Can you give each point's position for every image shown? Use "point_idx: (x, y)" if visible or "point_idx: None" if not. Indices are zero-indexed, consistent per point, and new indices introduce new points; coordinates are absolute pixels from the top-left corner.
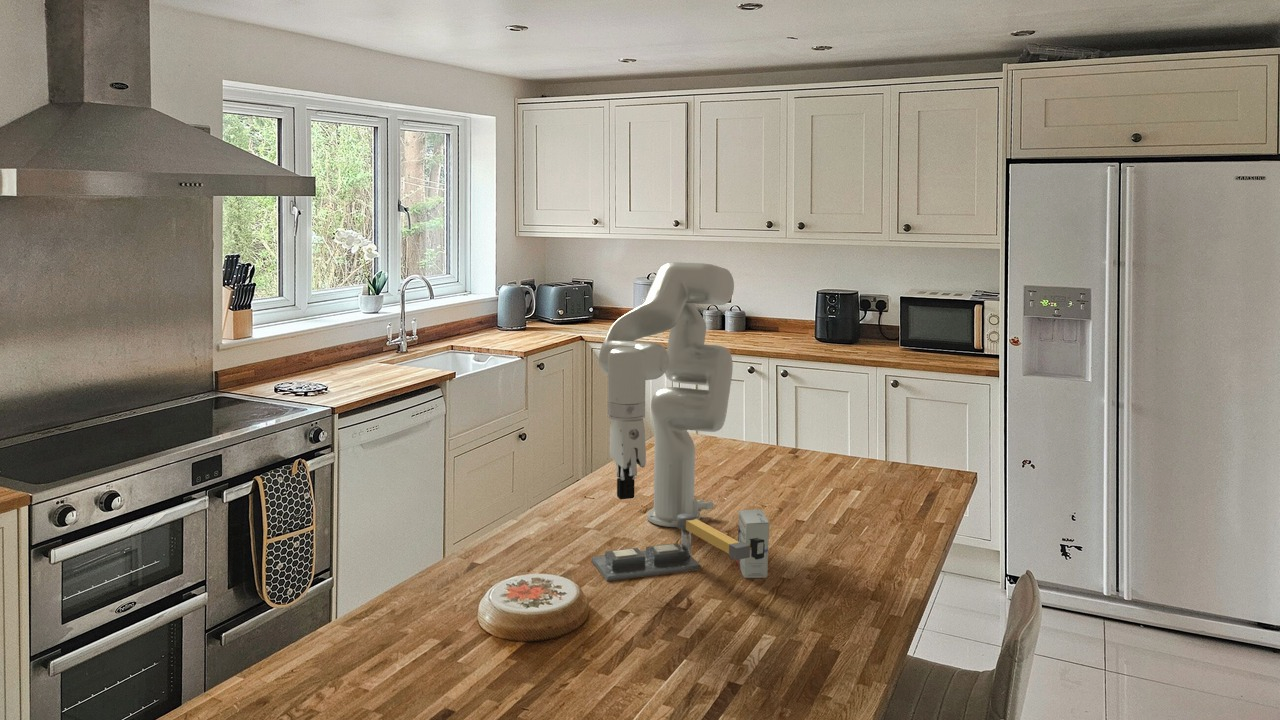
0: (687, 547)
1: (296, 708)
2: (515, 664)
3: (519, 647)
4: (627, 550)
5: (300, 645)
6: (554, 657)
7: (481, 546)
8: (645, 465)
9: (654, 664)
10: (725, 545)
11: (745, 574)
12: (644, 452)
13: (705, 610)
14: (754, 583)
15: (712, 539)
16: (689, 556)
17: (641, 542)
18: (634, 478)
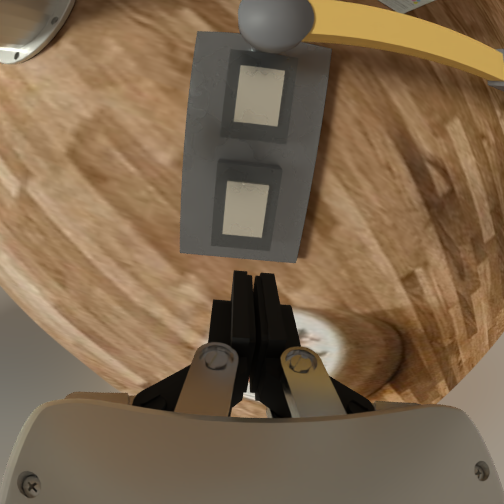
0: None
1: None
2: (412, 389)
3: (392, 387)
4: (234, 198)
5: None
6: (428, 365)
7: (85, 362)
8: (461, 410)
9: (496, 291)
10: (486, 75)
11: (406, 12)
12: (500, 499)
13: (468, 165)
14: (425, 20)
15: (443, 60)
16: None
17: (112, 103)
18: (319, 359)
